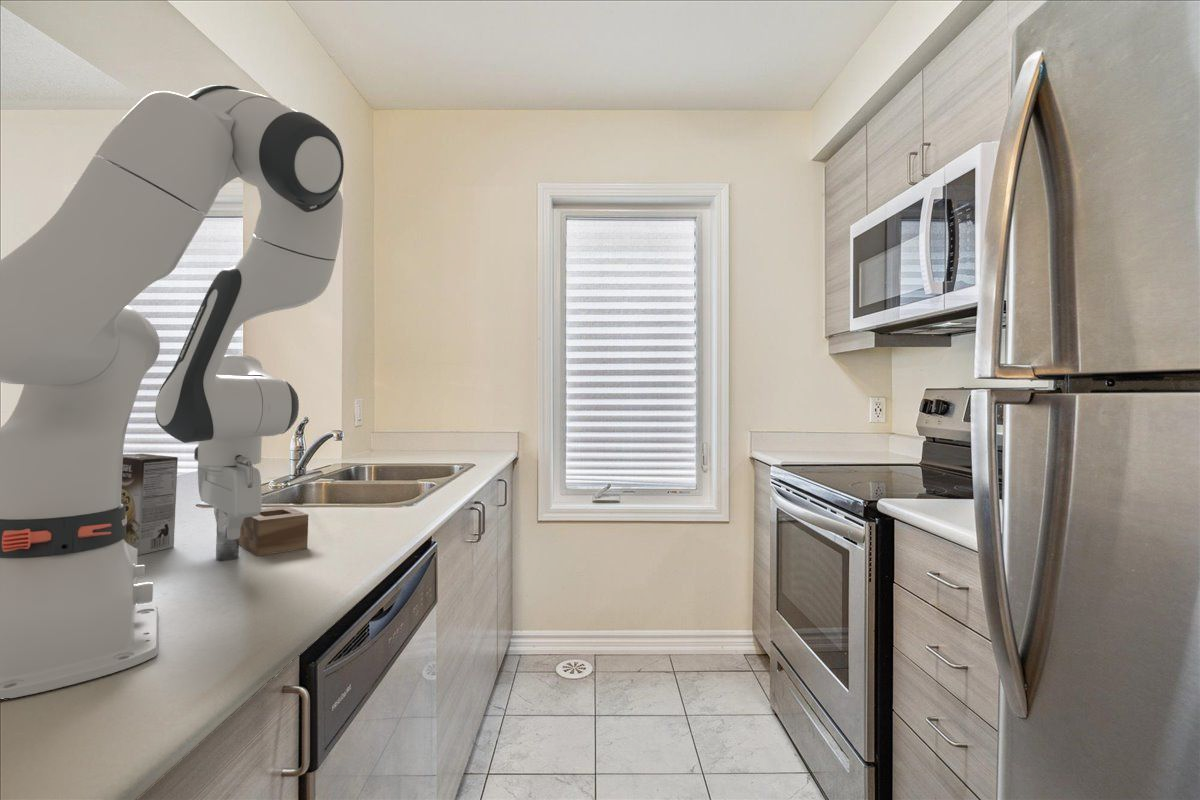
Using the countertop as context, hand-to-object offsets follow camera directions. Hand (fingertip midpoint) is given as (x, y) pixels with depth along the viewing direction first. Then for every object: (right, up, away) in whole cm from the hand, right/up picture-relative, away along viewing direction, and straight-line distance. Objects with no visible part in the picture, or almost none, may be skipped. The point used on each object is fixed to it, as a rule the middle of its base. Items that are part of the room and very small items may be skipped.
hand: (228, 536), depth 96 cm
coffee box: (-18, -3, +4) cm, 19 cm away
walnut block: (+3, -4, +8) cm, 9 cm away
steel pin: (0, -4, 0) cm, 4 cm away
